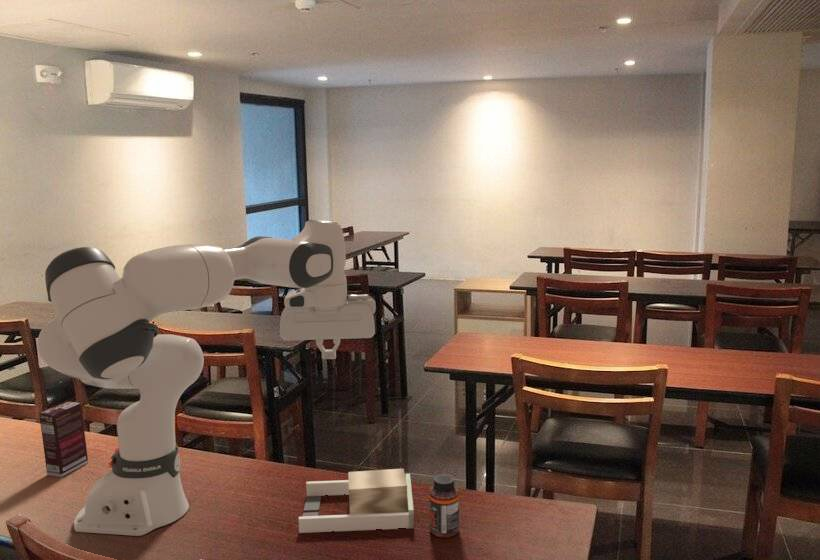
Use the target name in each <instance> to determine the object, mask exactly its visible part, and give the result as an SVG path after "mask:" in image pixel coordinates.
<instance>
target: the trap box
mask: <svg viewBox="0 0 820 560" xmlns="http://www.w3.org/2000/svg"><path fill="white" fill-rule="evenodd" d="M405 478H406V483H407V504H408V512H399V513H374V514H350V513H348V514H331V515H329V514H328V515H327V514H326V515H325V514H324V515H319V512H318V511H320V506H321V501H322V496H323V497H325V495H328V496H347V495H348V496H349V479H342V480H341V479H339V480H314V481H306V482H305V483H306V485H305V486H306V487H305V488H306V497H305V502H304V508H303V513H302V516H298V533H299V534H305V533H306V534H307V533H310V534H311V533H327V532H328V533H329V532H330V533H331V532H332V531H334V532H352V531H353V532H355V531H356V532H357V531H377V530H376V529H382V530H399V529H398V528H406V529H414V528H415V515H414V512H415V511H414V509H415V508H414V500H413V493H412V492H413V491H412V490H413V489H412V480H411V473H405ZM344 494H345V495H344Z"/></svg>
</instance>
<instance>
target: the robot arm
mask: <svg viewBox="0 0 820 560" xmlns="http://www.w3.org/2000/svg"><path fill="white" fill-rule="evenodd" d="M346 251H347V250H346V242H345V235H344V231H343V228H342V226H341V224H339V223H338V222H337V221H332V220H322V219H310V220H307V221H305V224H304V228H303V229H302V230H301V231H300V232H299V233H298V234H296V236H294V237H291V239H290V238H280V237H279V238H277V237H270V236H267V235H266V236H265V235H259V236H254V237H251V238H250V239H248V240H247V241H245V242H244V243H242V244H241V245H239V246H236V247H230V248H223V247H221V246H216V245H211V244H202V243H187V244H178V245H177V244H176V245H170V246H163V247H159V248H156V249H151V250H148V251H144V252H142V253H138V254H136V255H134V256H132V257H131V258H130V259H129V260H128V261H126V263H125V264H124V267H123V268H122V273H121V277H120V275H119V274H118V272H117V271H116V267H115V264H114V263H113V261H112V260H111V258H110V257H109V256H108V255H107V254H106V253H105V252H104V251H103V250H102V249H99V248H96V247H88V246H85V247H83V246H81V247H75V248H72V249H68V250H65V251H63V252H62V253H60V254H59V255H57V256H55V257H54V258H52V260H51V261H50V263H49V264H48V265H47V267H46V269H45V272H44V277H45V287H46V293H47V299H48V300H47V301H48V302H51V305H52V306H53V309H54V312H55V314H56V315H55V317H53V318H52V319H51V320H49V321H48V322H46V324H45V325H44V326H43V327H42V328H41V330H40V332H39V335H38V338H37V347H36V348H37V351H38V354H39V357H40V358H41V360H42V361H43V362H44V363H45V364H46V365H47V366H48V367H50V368H51V369H53V370H55V371H57V372H58V373H61V374H63V375H65V376H68V377H71V378H75V379H79V380H80V381H81V383H83V384H85V385H89V386H93V387H98V388H104V389H113V390H114V389H116V390H117V389H120V390H121V389H123V390H124V389H134V390H136V389H138V390H139V392H140V399H139V400H138V401H136V402H134V403H132V404H130V405H129V406H127V407H126V408H125V409H123V410H122V412H121V413H120V414H119V415H118V418H117V421H116V432H117V441H118V447H117V448H116V449H115V451H114V453H113V454H112V456H111V457H110V460H109V461H108V463H107V465H108V467H107V468H108V469H110V468H112V469H111V470H110V471H109V472H107V473H106V474H105V475H104V476H103V477H101V478H100V479H99V480H98V481H97V482H95V484H94V485H93V486H92V487H91V488H90V490H89V491H88V493H87V496H86V497H85V498H86V499H85V503H84V506H83V507H82V508H81V509H80V510H79V511H78V513H77V514H76V516H75V518H74V521H73V529H74V531H75V532H77V533H88V534H89V533H90V534H105V535H119V536H120V535H121V536H135V537H140V536H144V535H146V534H148V533H150V532H152V531H153V530H155V529H158V528H161V527H164V526H167V525H169V524H171V523H173V522H175V521H177V520H179V519H180V518H182V517H183V516H184V515H186V513H187V512H188V511H189V507H190V504H189V501H188V499H187V497H186V494H185V492H184V488H183V485H182V481H181V475H180V470H181V459H180V457H181V456H180V453H179V445H178V443H177V442H176V431H175V429H176V428H175V415H176V408H177V405H178V402H179V399H180V398H181V396H182V395H183V393H184V392H185V390H187V389H188V388H189V387H190V386H191V385H193V384H194V383H195V382H196V381H197V380H198V379H199V377H200V376H201V373H202V372H203V368H204V361H205V359H204V357H205V356H204V353H203V350H202V347H201V346H200V345H199V343H198V342H197V340H195V338H193V337H192V338H191V337H187V336H183V335H177V334H171V333H170V334H168V333H167V334H166V333H165V334H161V333H160V334H159V326H158V325H157V324H154V323H151V322H152V320H154V319H155V318H156V317H158V316H161V315H164V314H167V313H171V312H173V313H174V312H181V311H182V312H183V311H189V310H196V309H197V310H198V309H201V308H207V307H210V306H212V305H216V304H217V303H220V302H222V301H224V300H226V299H227V298H228V296H229V295H230V294H231V291H232V289H233V286H234V283H235V281H237V280H245V281H247V282H249V283H251V284H255V285H271V286H278V287H287V288H294V289H296V290H294V291H289V293H287V294H286V295H285V297H284V300H283V304H284V305H283V306H284V308H283V310H282V312H281V315H280V321H279V337H280V338H281V339H282V341H284V342H286V341H309V340H310V341H311V340H315V345H316V346H317V348H318V349H319V351H320V352H321V359H322V360H336V358H337V350H338V348H339V346H340V344H341V340H345V339H346V340H347V339H348V340H349V339H371V338H373V337H374V335H375V334H376V327H375V319H374V315H375V313H376V310H377V305H376V304H377V303H376V300H375V299H374V298H373V296H369V294H348V283H347V282H348V280H347V276H346V273H345V269H346V268H345V266H346V261H347V255H346ZM324 340H332V341H333V344H334V346H333V347H332V348H330V349H326V348H325V346H324V345H323V343H324Z"/></svg>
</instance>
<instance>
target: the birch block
mask: <svg viewBox="0 0 820 560" xmlns="http://www.w3.org/2000/svg"><path fill="white" fill-rule="evenodd" d="M405 474H406V473H405V469H404V468H392V469H391V468H389V469H375V470H374V469H373V470H362V471H361V470H359V471H357V470H356V471H348V475H347V476H348V480H349V495H348V499H349V500H348V503H349V505H348V506H349V514H374V513H399V512H408V504H407V483H406V477H405Z"/></svg>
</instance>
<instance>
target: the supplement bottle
mask: <svg viewBox="0 0 820 560" xmlns="http://www.w3.org/2000/svg"><path fill="white" fill-rule="evenodd" d="M428 499H429V500H428V505H429V507H428V511H429V515H428V517H429V521H428V522H429V531H430V533H431V534H432V535H434V536H436V537H439V538H443V539H444V538H445V539H446V538H451V537H454V536H456V535H457V534H458V533H459V531H460V491H459V489H458V487H457V486H455V478H454V477H453V476H452V475H450V474H446V473H445V474H444V473H443V474H442V473H441V474H438V475H435V476H434V477H433V486H431V487H430V488H429V492H428Z"/></svg>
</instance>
